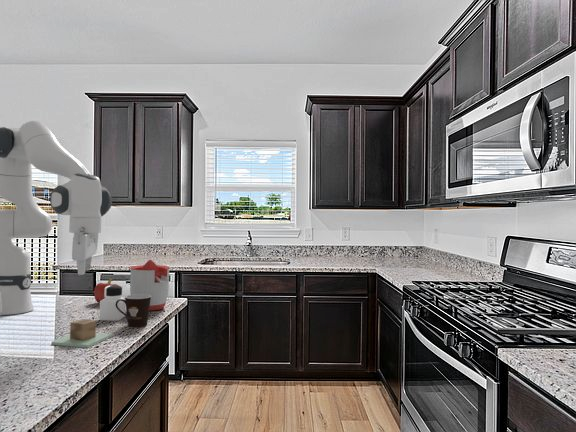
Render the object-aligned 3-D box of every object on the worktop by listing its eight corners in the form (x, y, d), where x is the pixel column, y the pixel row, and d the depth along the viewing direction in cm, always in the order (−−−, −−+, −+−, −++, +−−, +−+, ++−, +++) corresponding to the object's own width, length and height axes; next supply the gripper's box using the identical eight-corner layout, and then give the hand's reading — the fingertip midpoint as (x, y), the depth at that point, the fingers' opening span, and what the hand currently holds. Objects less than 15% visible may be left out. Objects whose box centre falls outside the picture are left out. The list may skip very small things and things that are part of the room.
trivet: (51, 344, 133) (51, 341, 133) (77, 334, 145) (77, 331, 145) (88, 347, 131) (88, 345, 131) (111, 336, 143) (111, 334, 142)
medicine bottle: (125, 316, 170) (126, 284, 170) (119, 320, 163) (119, 287, 163) (106, 316, 170) (107, 284, 170) (99, 320, 163) (99, 287, 163)
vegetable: (99, 300, 198) (100, 277, 198) (123, 300, 199) (124, 278, 199) (90, 305, 187) (90, 281, 187) (115, 306, 188) (116, 281, 188)
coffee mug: (155, 324, 159) (156, 296, 159) (136, 329, 152) (136, 299, 152) (132, 319, 165) (133, 292, 165) (113, 324, 158) (113, 295, 158)
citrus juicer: (147, 315, 173) (148, 263, 172) (121, 308, 183) (122, 259, 183) (179, 309, 185) (180, 260, 185) (153, 303, 196) (154, 256, 195)
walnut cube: (70, 338, 136) (70, 322, 136) (83, 334, 141) (83, 318, 141) (82, 340, 134) (83, 324, 134) (95, 336, 139) (95, 320, 139)
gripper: (90, 228, 128) (89, 277, 128) (101, 225, 148) (100, 268, 148) (66, 228, 127) (65, 277, 127) (80, 225, 146) (79, 268, 147)
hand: (84, 272), depth 138 cm, fingers open, 8 cm apart
